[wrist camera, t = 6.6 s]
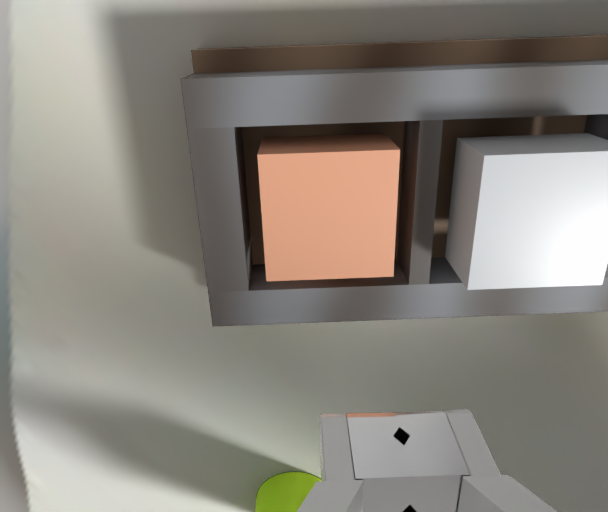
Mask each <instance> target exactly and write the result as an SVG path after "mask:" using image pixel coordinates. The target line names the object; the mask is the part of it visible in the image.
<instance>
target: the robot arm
mask: <svg viewBox="0 0 608 512" xmlns="http://www.w3.org/2000/svg"><path fill="white" fill-rule="evenodd" d="M320 448H321V481H317V482H316V483H315V485H314V486H313V488H312V489H311V491H310V492H309V494H308V495H307V497H306V498H305V500H304V501H303V503H302V504H301V506H300V507H299V509H298V510H297V512H558V511H556V510H555V509H554V508H552V507H551V506H550V505H548V504H547V503H546V502H544V501H543V500H542V499H540V498H539V497H538V496H536V495H535V494H534V493H532V492H531V491H530V490H528V489H527V488H526V487H525V486H523V485H522V484H521V483H519V482H518V481H517V480H515V479H514V478H513V477H511V476H510V475H501V474H500V472H499V469H498V467H497V465H496V463H495V461H494V459H493V457H492V455H491V452H490V450H489V448H488V446H487V444H486V442H485V440H484V438H483V436H482V433H481V431H480V429H479V427H478V425H477V423H476V421H475V419H474V417H473V414H472V412H471V411H469V410H468V409H454V410H443V411H441V410H439V411H415V412H393V413H346V414H320Z"/></svg>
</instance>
